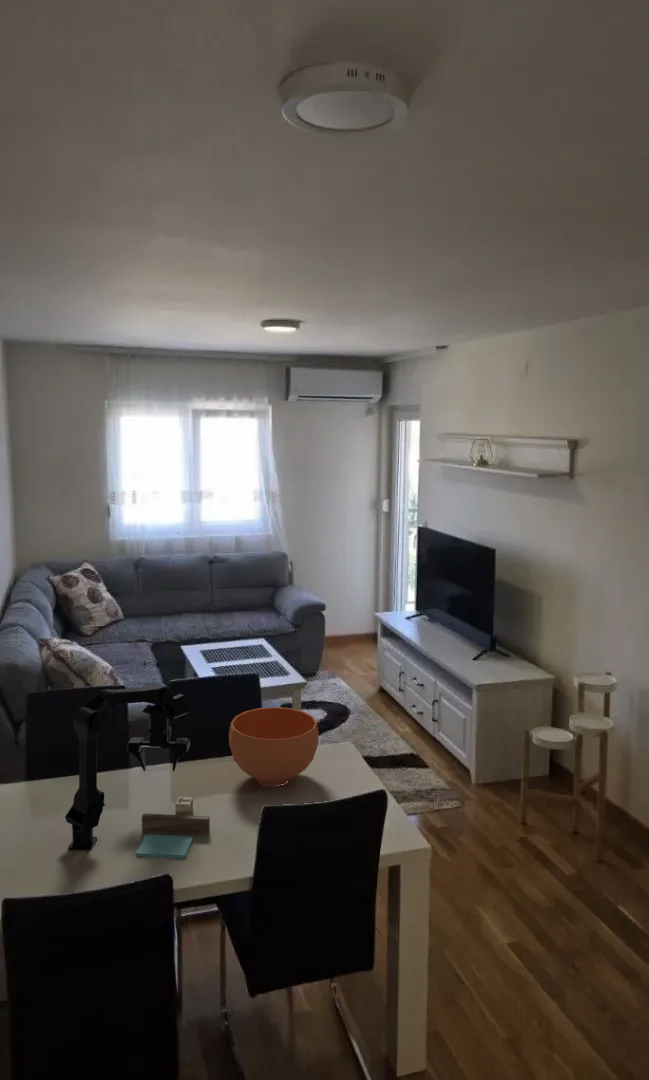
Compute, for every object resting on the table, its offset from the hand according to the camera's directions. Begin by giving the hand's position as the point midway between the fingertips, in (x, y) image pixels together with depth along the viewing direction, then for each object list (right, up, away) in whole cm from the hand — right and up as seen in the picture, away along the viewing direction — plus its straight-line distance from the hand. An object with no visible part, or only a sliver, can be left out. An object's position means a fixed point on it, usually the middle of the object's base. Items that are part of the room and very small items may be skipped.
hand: (159, 770), depth 247 cm
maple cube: (+8, -13, -2) cm, 15 cm away
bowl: (+35, -10, +23) cm, 43 cm away
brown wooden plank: (+8, -15, -13) cm, 21 cm away
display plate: (+6, -16, -21) cm, 27 cm away
